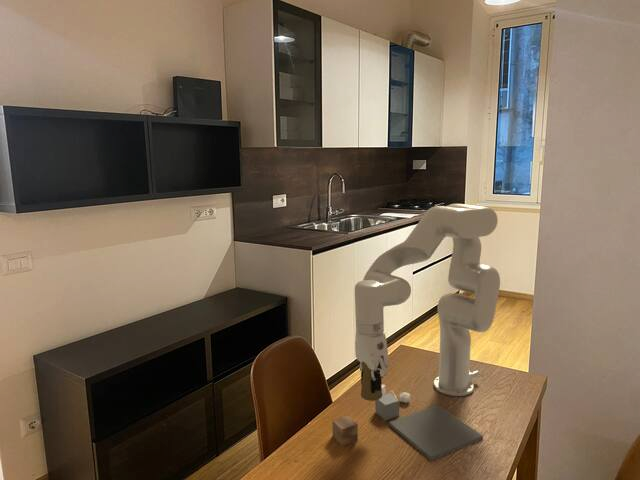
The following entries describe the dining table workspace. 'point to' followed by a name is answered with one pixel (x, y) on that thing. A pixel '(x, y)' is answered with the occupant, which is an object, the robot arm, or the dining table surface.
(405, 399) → the game pieces
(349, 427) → the walnut block
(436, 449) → the mat
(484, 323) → the robot arm
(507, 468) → the dining table surface
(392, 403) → the slate-grey block
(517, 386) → the dining table surface
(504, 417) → the dining table surface
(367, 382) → the olive lobed rounded piece
